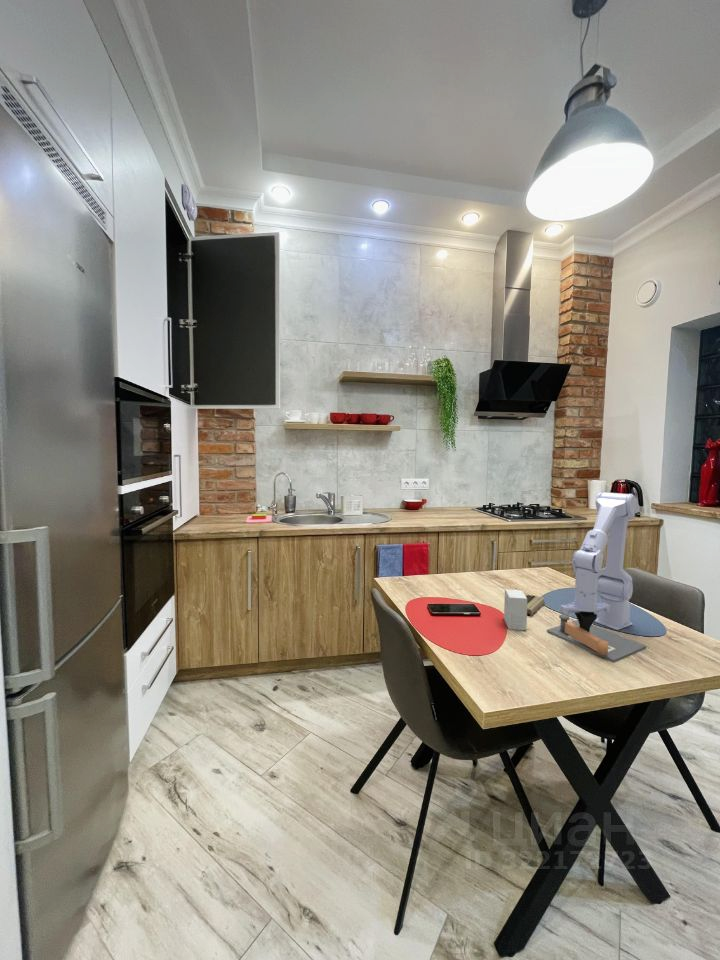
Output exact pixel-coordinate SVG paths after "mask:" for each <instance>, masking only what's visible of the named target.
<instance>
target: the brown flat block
mask: <svg viewBox="0 0 720 960" xmlns="http://www.w3.org/2000/svg"><path fill="white" fill-rule="evenodd" d="M524 595H525V596H526V597H527V617H529V618H532V617H533V616H534V614H537V612H538V611H539V610H540V609H541V608H542V607H543V606H545V604H546V602H545V598H544V597H541V596H537V595H530V594H524Z"/></svg>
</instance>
